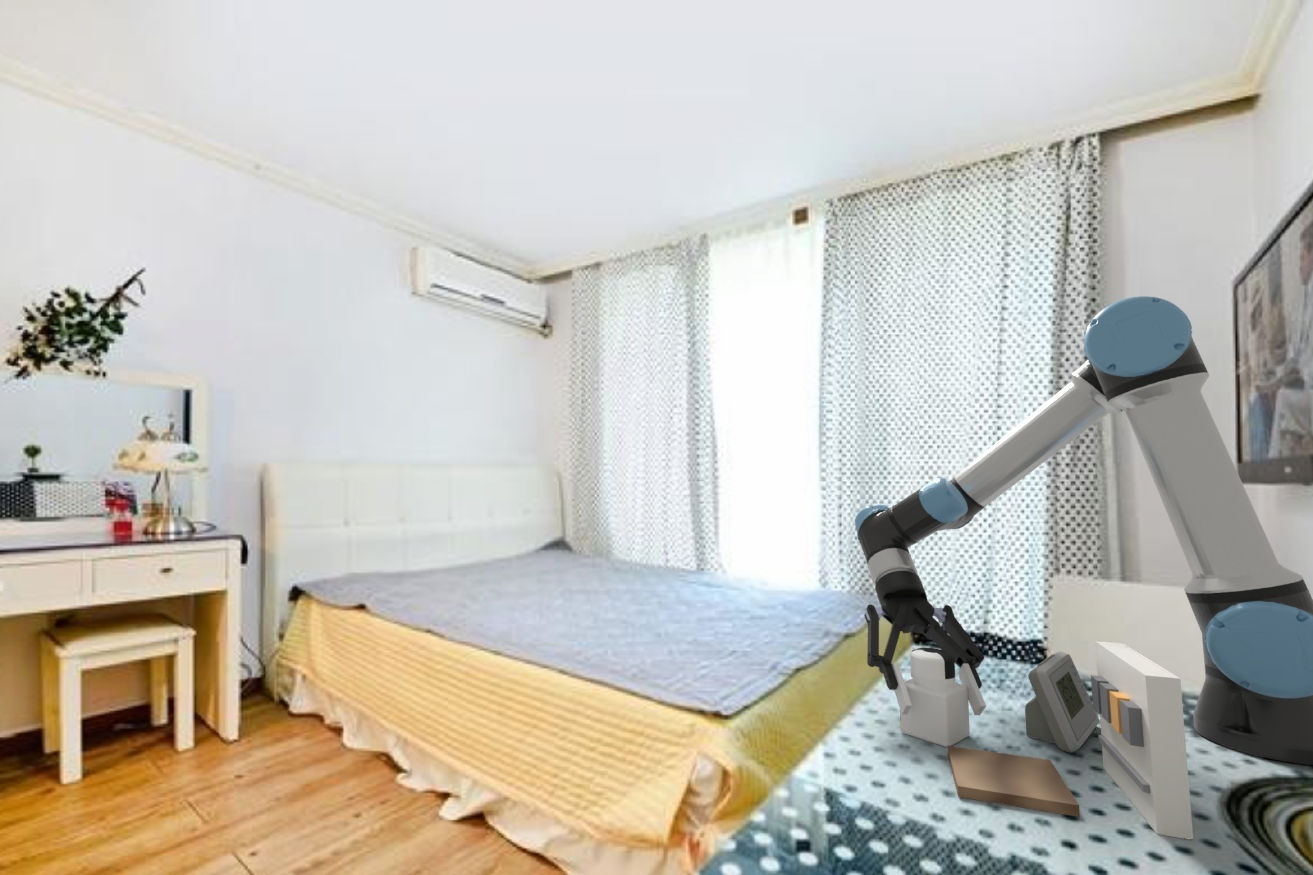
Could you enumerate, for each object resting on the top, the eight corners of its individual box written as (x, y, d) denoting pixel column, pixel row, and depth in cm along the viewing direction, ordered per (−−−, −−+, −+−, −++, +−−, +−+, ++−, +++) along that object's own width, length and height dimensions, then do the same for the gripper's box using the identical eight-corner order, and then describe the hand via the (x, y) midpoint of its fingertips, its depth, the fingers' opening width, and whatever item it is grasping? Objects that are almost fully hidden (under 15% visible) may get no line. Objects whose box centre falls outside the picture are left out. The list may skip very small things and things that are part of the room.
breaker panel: (1131, 772, 75) (1122, 643, 77) (1193, 840, 60) (1180, 678, 62) (1092, 766, 77) (1084, 640, 78) (1143, 831, 62) (1131, 674, 63)
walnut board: (1050, 769, 76) (1050, 759, 76) (1080, 817, 65) (1079, 805, 65) (947, 754, 80) (947, 745, 80) (958, 796, 69) (957, 785, 69)
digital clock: (1072, 759, 79) (1067, 677, 80) (1003, 736, 87) (999, 661, 88) (1123, 733, 88) (1118, 660, 89) (1056, 714, 95) (1052, 646, 96)
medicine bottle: (923, 721, 92) (920, 642, 93) (970, 735, 87) (967, 651, 88) (899, 733, 87) (896, 649, 89) (948, 749, 82) (945, 660, 83)
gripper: (955, 595, 104) (1012, 723, 87) (827, 594, 104) (859, 722, 87) (969, 568, 99) (1032, 698, 82) (835, 567, 99) (870, 696, 82)
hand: (943, 710), depth 84 cm, fingers closed on medicine bottle, 10 cm apart
